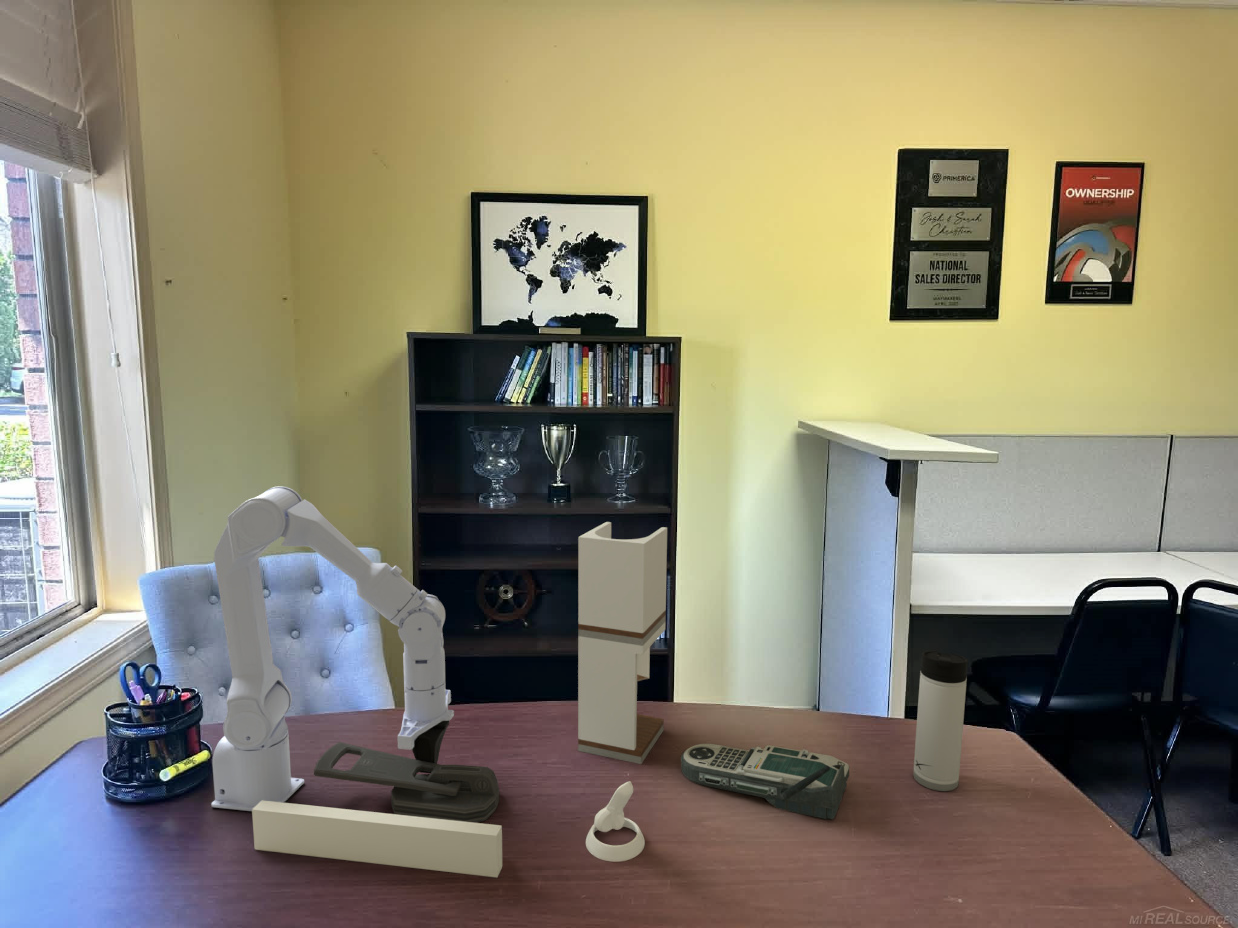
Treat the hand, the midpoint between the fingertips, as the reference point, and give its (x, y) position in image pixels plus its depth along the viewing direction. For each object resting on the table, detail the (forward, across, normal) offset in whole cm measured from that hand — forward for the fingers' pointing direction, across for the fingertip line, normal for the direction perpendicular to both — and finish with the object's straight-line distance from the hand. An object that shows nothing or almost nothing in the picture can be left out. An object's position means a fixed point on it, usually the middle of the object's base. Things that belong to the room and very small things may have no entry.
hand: (427, 770), depth 110 cm
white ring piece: (+3, -8, -29) cm, 30 cm away
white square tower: (+3, +18, -26) cm, 32 cm away
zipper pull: (+3, -4, +1) cm, 5 cm away
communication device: (+3, +8, -48) cm, 49 cm away
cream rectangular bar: (+2, -15, 0) cm, 15 cm away
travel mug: (+3, +14, -74) cm, 75 cm away
